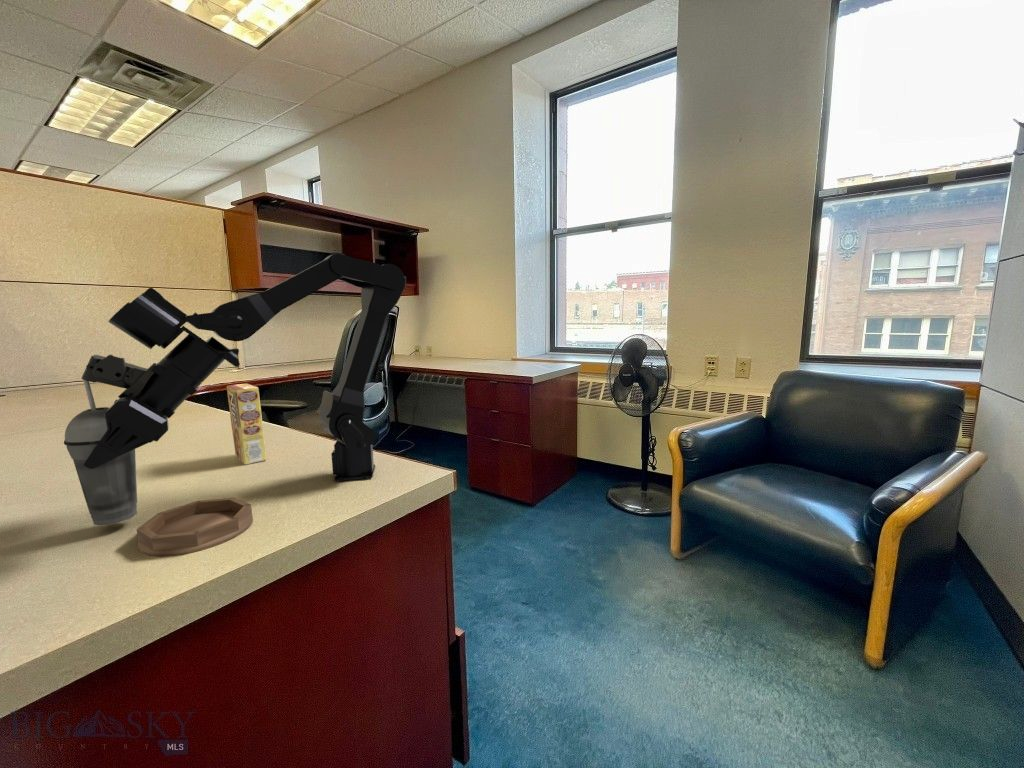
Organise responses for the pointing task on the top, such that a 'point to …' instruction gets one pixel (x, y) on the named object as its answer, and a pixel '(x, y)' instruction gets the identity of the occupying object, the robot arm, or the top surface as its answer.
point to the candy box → (246, 423)
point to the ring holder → (194, 526)
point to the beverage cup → (101, 468)
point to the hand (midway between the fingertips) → (91, 460)
